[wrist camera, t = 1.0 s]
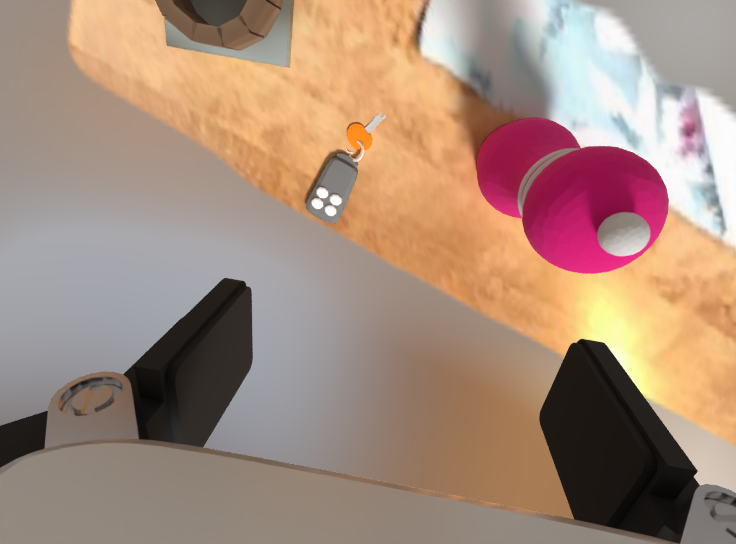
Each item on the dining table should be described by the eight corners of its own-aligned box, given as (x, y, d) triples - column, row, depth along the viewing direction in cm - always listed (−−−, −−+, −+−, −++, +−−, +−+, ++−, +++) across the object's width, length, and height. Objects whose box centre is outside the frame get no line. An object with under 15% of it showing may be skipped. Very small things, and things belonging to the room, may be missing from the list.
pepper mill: (460, 193, 34) (509, 302, 16) (485, 107, 31) (579, 124, 13) (539, 209, 34) (678, 338, 16) (572, 124, 31) (792, 165, 13)
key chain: (339, 224, 37) (337, 229, 36) (305, 206, 37) (301, 210, 36) (405, 95, 32) (404, 95, 30) (365, 72, 31) (363, 71, 30)
